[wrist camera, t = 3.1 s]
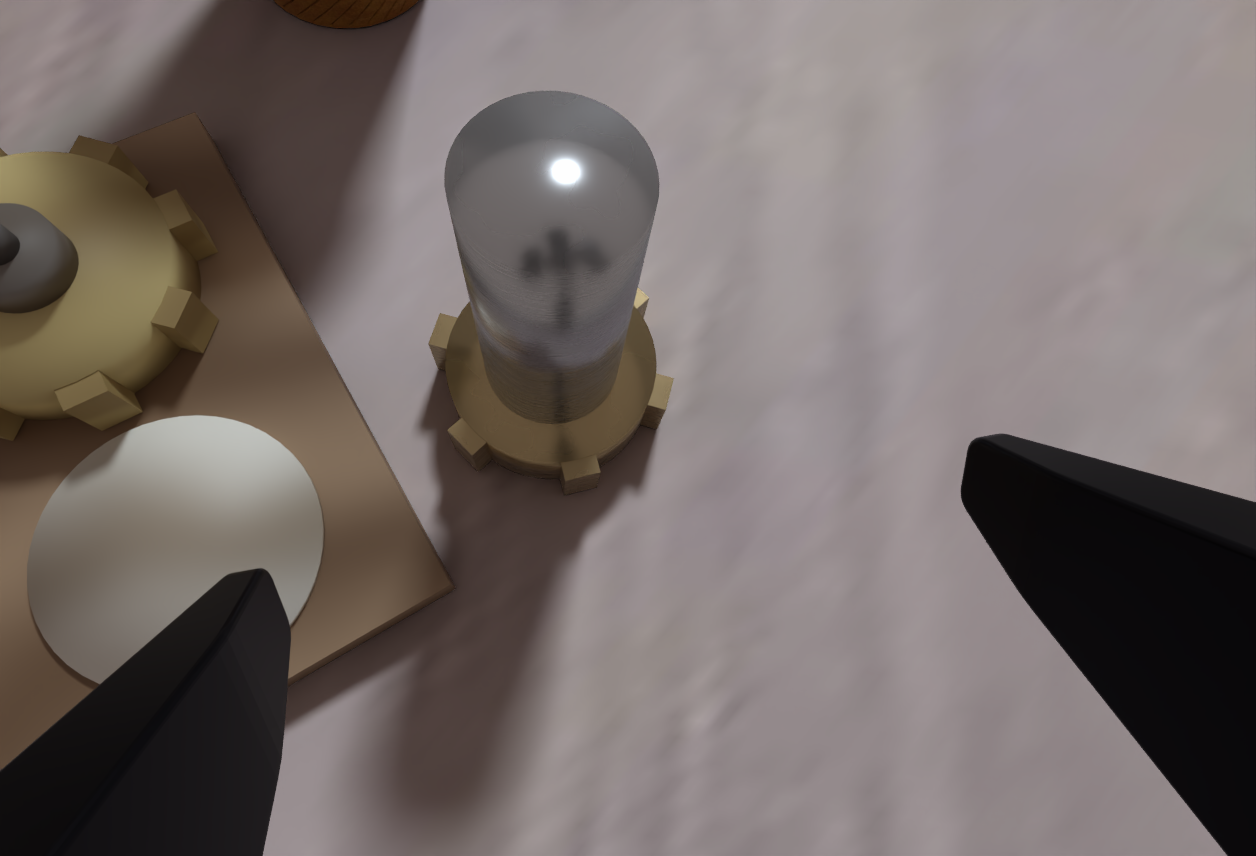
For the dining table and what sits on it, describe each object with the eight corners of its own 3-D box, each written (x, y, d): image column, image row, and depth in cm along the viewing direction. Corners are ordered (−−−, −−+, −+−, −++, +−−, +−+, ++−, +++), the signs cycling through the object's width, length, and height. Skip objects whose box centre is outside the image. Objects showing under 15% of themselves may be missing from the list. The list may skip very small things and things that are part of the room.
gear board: (456, 588, 21) (430, 569, 17) (56, 821, 19) (-100, 872, 14) (211, 137, 25) (136, 21, 20) (-155, 280, 22) (-334, 184, 18)
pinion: (543, 538, 22) (537, 436, 12) (393, 385, 23) (271, 171, 13) (703, 384, 24) (814, 185, 14) (559, 248, 25) (566, -30, 15)
